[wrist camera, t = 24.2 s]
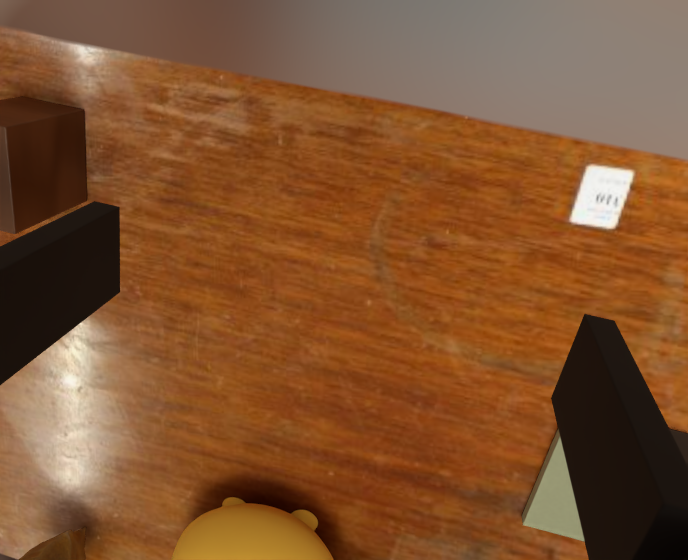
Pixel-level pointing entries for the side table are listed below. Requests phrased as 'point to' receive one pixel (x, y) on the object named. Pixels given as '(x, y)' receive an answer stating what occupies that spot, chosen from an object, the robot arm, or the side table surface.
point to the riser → (39, 161)
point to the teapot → (251, 534)
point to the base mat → (554, 497)
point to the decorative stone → (60, 547)
